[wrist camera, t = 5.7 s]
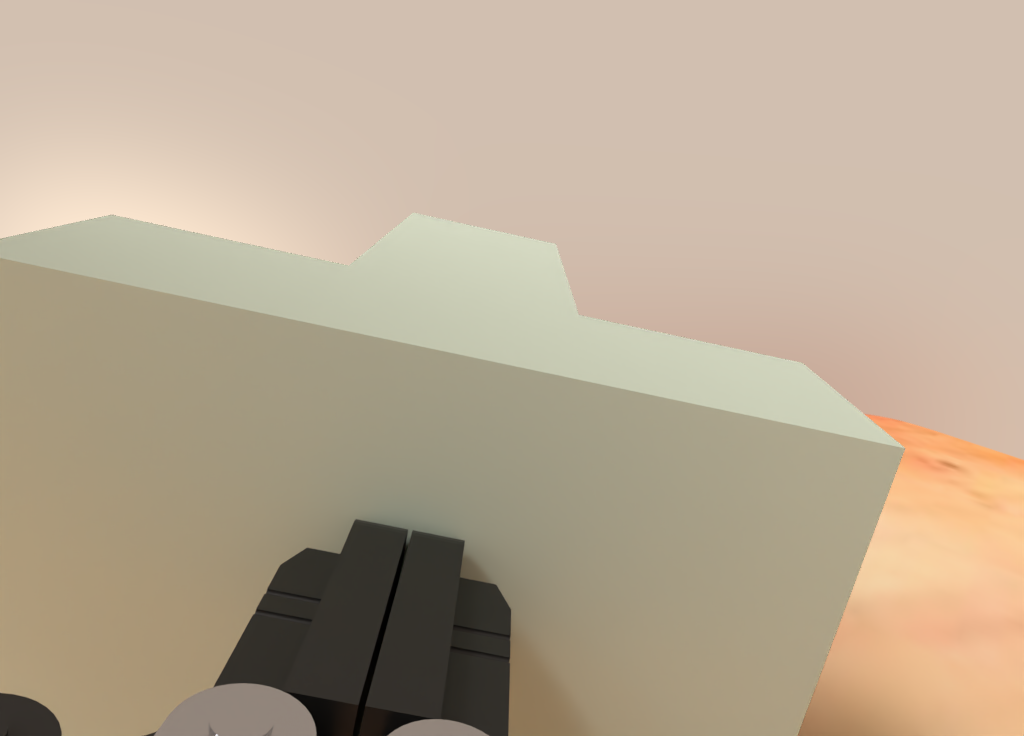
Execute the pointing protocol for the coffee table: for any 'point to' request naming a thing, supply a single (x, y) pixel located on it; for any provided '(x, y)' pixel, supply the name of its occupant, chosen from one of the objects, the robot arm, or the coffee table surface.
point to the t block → (410, 474)
